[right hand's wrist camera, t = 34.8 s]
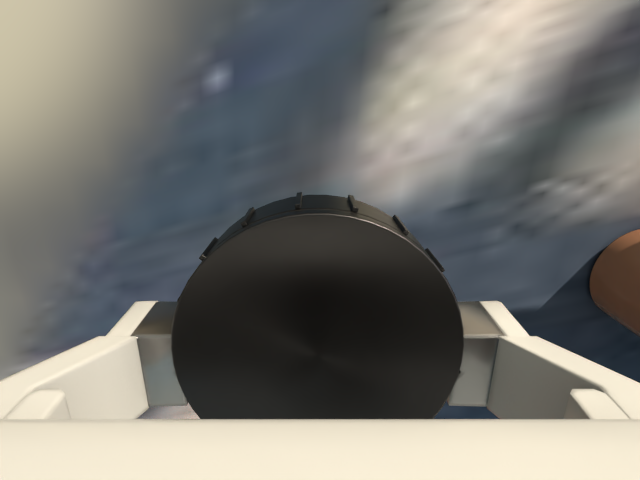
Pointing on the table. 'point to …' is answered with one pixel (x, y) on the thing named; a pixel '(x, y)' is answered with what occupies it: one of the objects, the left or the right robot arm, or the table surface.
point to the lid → (317, 318)
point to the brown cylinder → (619, 281)
